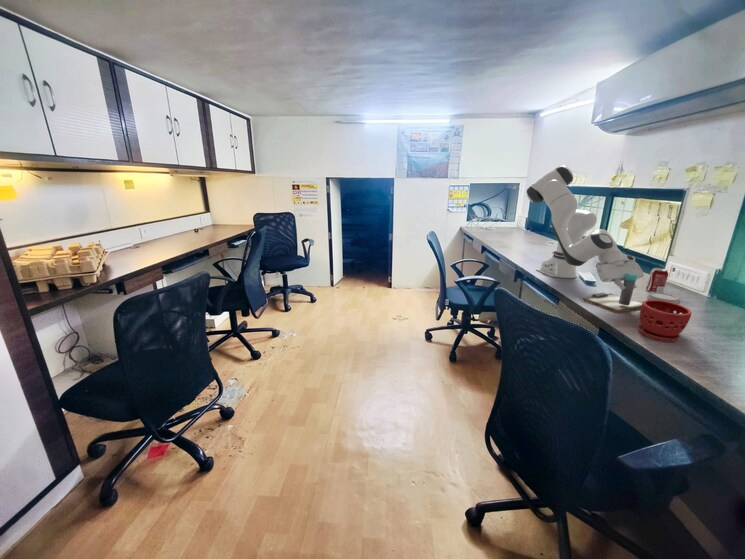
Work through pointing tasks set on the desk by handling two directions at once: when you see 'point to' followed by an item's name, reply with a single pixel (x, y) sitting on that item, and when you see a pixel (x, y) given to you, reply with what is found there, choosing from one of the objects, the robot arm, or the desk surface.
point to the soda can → (657, 280)
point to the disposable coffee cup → (662, 298)
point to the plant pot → (663, 320)
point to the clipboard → (612, 302)
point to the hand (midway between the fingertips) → (629, 288)
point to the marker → (627, 293)
